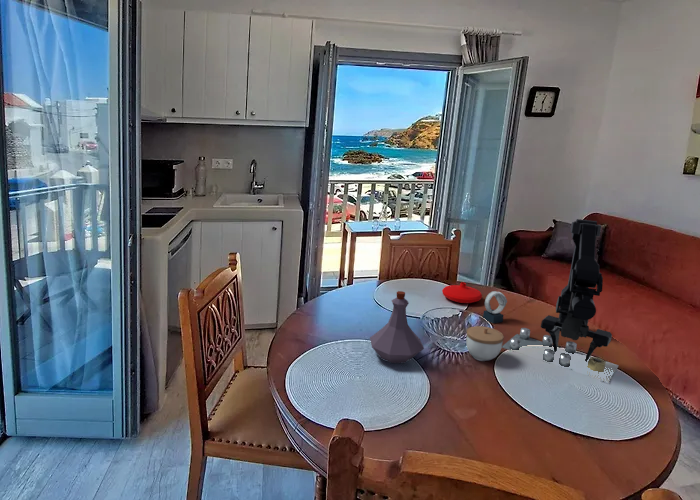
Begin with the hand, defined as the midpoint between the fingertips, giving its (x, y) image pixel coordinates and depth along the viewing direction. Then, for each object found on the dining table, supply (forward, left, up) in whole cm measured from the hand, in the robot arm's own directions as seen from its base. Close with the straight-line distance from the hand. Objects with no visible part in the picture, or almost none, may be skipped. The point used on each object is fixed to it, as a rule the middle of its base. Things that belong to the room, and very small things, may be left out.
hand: (570, 356), depth 148 cm
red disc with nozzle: (-25, -48, -2) cm, 54 cm away
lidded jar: (+17, -21, -2) cm, 27 cm away
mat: (0, -3, -2) cm, 4 cm away
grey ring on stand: (-13, -30, -2) cm, 33 cm away
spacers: (0, -8, -2) cm, 8 cm away
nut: (0, +7, -1) cm, 7 cm away
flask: (+35, -40, -2) cm, 54 cm away
